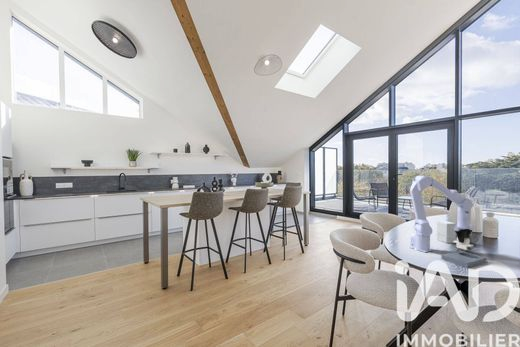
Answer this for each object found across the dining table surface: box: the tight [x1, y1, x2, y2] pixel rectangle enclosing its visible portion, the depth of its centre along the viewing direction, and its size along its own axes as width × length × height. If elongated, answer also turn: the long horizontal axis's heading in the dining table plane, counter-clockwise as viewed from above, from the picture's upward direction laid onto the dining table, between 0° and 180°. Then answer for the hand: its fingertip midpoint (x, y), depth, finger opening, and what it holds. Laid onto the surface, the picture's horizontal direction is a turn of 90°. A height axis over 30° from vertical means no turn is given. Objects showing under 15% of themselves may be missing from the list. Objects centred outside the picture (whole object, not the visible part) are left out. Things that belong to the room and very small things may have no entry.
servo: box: [453, 236, 474, 251], centre depth 144 cm, size 9×3×6 cm, turn 24°
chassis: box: [441, 249, 488, 269], centre depth 131 cm, size 12×17×2 cm
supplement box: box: [436, 220, 457, 244], centre depth 164 cm, size 7×7×13 cm
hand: (463, 241), depth 144 cm, fingers closed on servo, 3 cm apart
